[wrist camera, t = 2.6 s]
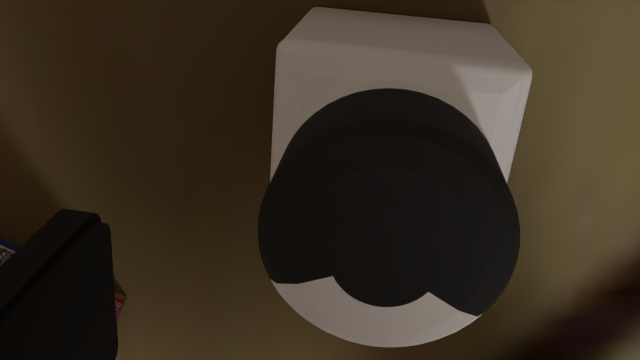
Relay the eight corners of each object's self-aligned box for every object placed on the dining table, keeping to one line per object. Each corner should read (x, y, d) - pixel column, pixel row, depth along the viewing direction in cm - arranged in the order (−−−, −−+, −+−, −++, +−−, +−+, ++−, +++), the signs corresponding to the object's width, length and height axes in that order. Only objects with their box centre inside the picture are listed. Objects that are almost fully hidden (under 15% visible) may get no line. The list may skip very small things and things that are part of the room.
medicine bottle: (308, 4, 22) (228, 85, 12) (496, 23, 22) (595, 126, 11) (297, 172, 25) (224, 362, 15) (461, 192, 25) (513, 405, 14)
